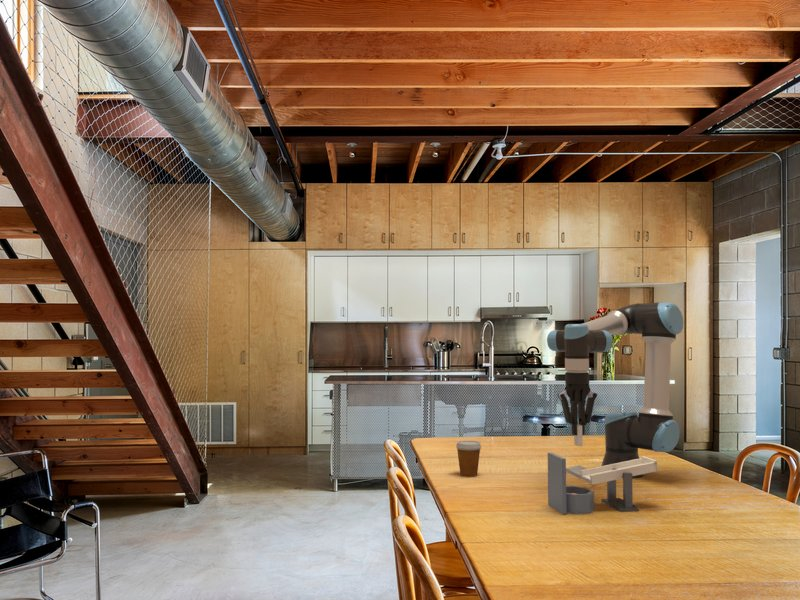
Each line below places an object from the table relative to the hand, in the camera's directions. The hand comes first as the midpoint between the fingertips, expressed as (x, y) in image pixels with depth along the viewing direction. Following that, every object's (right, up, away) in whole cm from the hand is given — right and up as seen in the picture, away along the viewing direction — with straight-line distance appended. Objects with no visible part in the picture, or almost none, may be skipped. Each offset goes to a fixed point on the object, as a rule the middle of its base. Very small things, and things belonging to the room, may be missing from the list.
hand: (578, 445), depth 200 cm
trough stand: (+10, -17, -9) cm, 21 cm away
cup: (-5, -16, -12) cm, 21 cm away
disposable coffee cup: (-32, -19, +32) cm, 49 cm away
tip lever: (+9, -8, -4) cm, 13 cm away
